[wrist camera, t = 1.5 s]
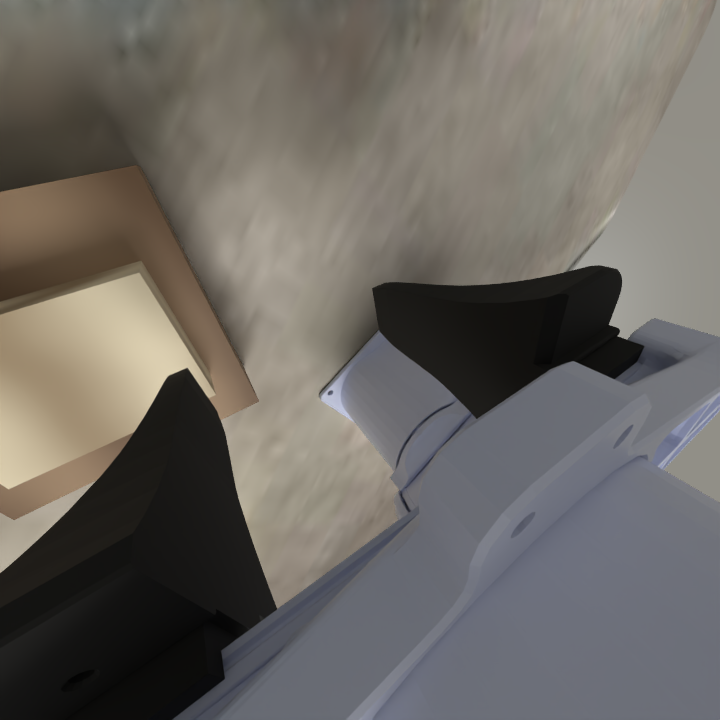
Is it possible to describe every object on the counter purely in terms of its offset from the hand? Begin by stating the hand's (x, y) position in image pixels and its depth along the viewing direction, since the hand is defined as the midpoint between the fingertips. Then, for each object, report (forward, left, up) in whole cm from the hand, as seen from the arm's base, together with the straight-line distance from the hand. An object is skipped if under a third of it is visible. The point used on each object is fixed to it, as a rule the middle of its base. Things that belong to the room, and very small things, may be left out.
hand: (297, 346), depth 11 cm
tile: (+7, -4, -5) cm, 9 cm away
